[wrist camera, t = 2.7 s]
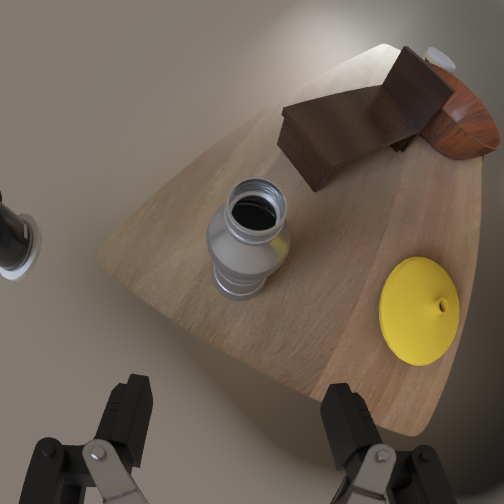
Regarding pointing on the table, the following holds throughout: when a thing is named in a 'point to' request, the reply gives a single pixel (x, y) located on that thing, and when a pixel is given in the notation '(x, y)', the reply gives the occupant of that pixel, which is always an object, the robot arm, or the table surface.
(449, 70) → the coffee cup
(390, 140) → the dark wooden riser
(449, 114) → the bowl
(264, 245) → the plastic bottle
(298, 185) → the table surface
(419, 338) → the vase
